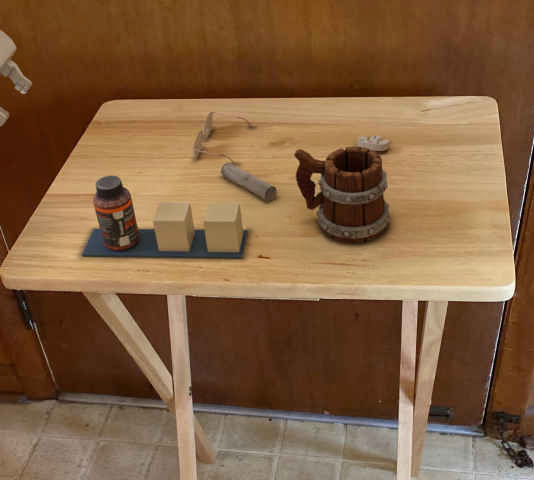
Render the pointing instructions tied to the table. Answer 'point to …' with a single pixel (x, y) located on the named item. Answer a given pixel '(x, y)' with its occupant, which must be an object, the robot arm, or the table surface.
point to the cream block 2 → (223, 227)
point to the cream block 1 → (174, 226)
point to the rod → (249, 181)
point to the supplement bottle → (115, 214)
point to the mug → (346, 192)
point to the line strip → (149, 247)
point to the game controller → (373, 143)
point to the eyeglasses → (207, 130)
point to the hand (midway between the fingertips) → (17, 104)
